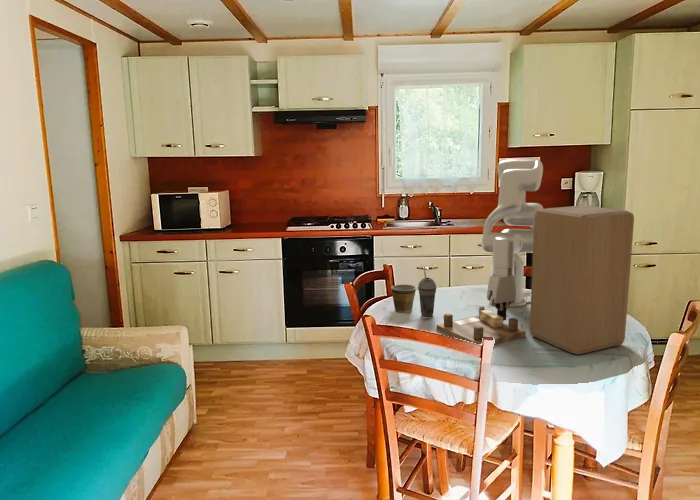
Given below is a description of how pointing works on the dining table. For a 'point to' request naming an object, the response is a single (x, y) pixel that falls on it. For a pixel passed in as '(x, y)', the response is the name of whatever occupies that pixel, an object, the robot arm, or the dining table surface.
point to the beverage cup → (427, 296)
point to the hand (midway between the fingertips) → (501, 319)
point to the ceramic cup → (403, 297)
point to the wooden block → (581, 277)
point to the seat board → (489, 332)
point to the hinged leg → (491, 318)
